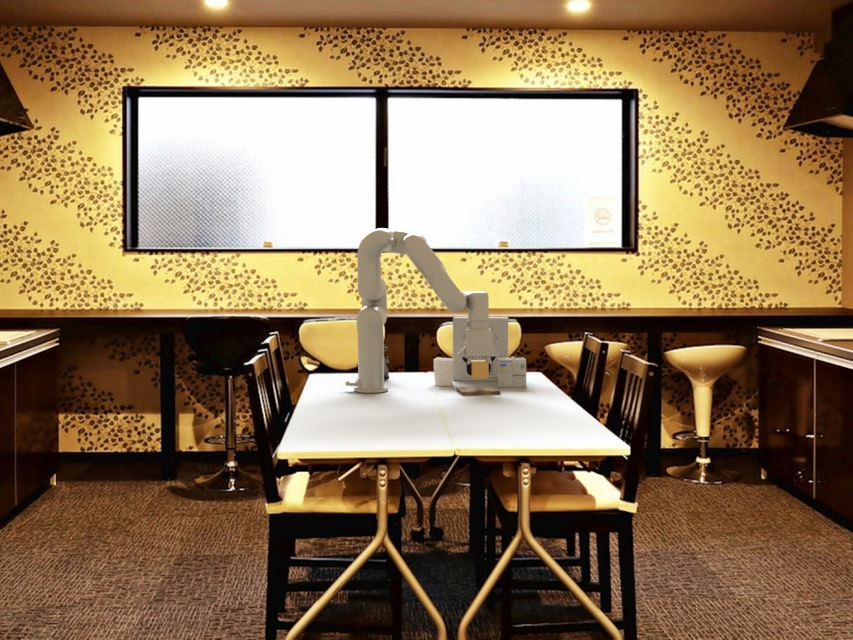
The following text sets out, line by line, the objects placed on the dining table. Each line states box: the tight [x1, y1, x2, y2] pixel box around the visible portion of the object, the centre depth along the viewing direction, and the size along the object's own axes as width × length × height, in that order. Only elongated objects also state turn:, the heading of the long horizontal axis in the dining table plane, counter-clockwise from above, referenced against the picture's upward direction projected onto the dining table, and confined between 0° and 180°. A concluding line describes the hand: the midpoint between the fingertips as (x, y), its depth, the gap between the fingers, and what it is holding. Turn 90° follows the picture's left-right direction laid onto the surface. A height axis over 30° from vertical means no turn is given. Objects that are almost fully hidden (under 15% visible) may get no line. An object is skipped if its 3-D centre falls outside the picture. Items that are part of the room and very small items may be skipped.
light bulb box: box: [497, 356, 527, 388], centre depth 351 cm, size 11×7×11 cm, turn 92°
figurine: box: [355, 343, 390, 380], centre depth 367 cm, size 9×12×15 cm
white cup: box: [433, 357, 454, 387], centre depth 354 cm, size 8×8×10 cm
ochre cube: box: [469, 360, 489, 379], centre depth 336 cm, size 6×6×6 cm
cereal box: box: [452, 315, 509, 382], centre depth 367 cm, size 22×8×25 cm, turn 84°
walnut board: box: [455, 385, 501, 396], centre depth 337 cm, size 14×11×1 cm
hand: (478, 374), depth 336 cm, fingers closed on ochre cube, 6 cm apart
